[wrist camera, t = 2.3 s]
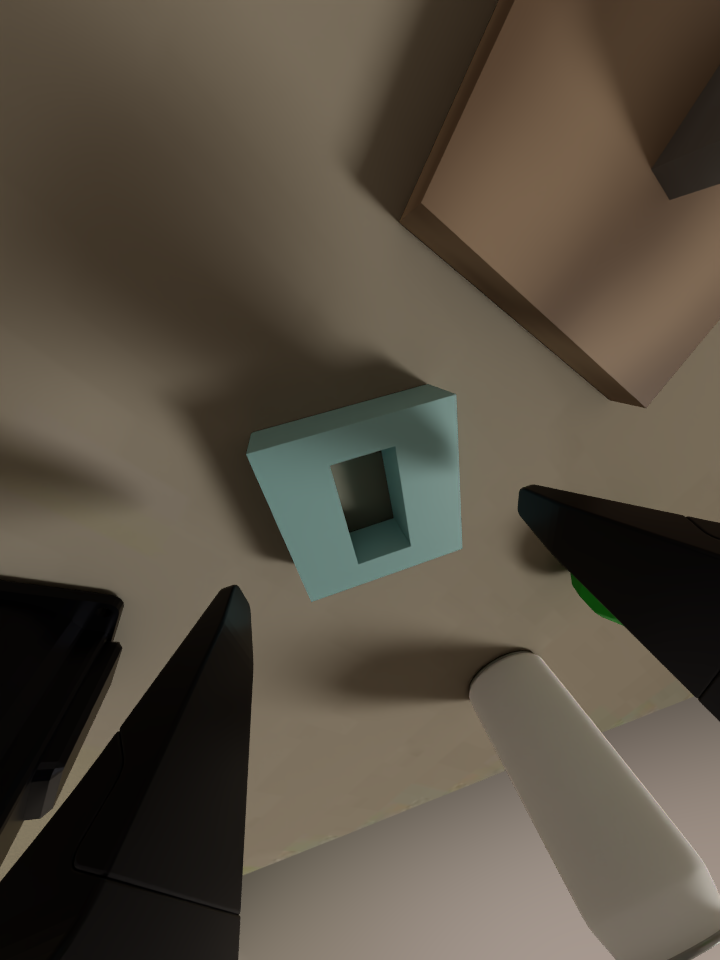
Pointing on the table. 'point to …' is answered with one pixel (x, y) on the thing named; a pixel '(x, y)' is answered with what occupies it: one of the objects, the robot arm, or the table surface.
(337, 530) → the slotted plate
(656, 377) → the post base
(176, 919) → the robot arm
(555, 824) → the can
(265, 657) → the table surface
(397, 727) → the table surface
